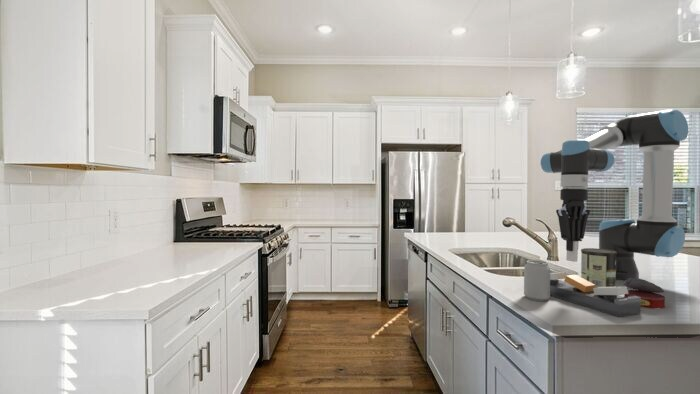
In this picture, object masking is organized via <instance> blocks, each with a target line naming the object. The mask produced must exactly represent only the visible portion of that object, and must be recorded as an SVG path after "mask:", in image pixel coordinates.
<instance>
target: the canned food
mask: <svg viewBox="0 0 700 394" xmlns="http://www.w3.org/2000/svg"><path fill="white" fill-rule="evenodd" d="M626 286H627V290H628V294H623V297H629V296H638V297H641V308H646V309H655V308H660V309H664V308H665V306H666V297H665V296H664V295H663V294H662V293H665V289H663V288H662V287H661V286H659V285H657V284H655V283H654V282H651V281H648V280H646V279H643V278H640V277H639V278H629V279H625V281H624V282H623V287H626Z"/></svg>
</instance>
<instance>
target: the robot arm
mask: <svg viewBox="0 0 700 394" xmlns="http://www.w3.org/2000/svg"><path fill="white" fill-rule="evenodd" d="M688 123H689V122H688V120H687V118H686V117H685V115H684V114H683V113H682V112H681V111H680V110H677V109H674V108H673V109H664V110H658V111H651V112H647V113H646V112H645V113H640V114H633V115H628V116H626V117H622V118H620V119H618V120H616V121H613V122H611V123H608V124H607V125H604V126H602V127H601V128H600V129H599V130H598V131H597V132H596V133H594V134H592V135H590V136H588V137H586V138H584V139H570V140H566V141H564V142H562V145H561V149H560V150H558V151H555V152H552V151H550V152H547V153H544V154H543V155H542V157H541V158H540V167H541V169H542V171H543V172H544V173H547V174H548V173H551V174H558V173H559V174H560V187H561V188H562V189H560V196H559V197H560V200H561V201H562V204H561V208H560V209H556V211H555V213H556V215H557V217H558V225H559V230H560V232H559V233H560V237H561V239H563V240H564V241H565V242H566V243H565V244H566V245H565V250H566V258H565V259H566V261H568V262H569V261H570V262H573V263H574V262H575V263H576V262H578V254H579V252H578V251H579V242H582V241H583V239H584V238H585V234H586V229H587V223H588V217H589V216H590V212H591V210H590V209H586V204H585V201H588V198H589V197H588V193H589V190H588V189H587V188H588V185H589V172H596V173H601V172H606V171H609V170H610V169H611V168H612V167H613V166H614V163H615V156H614V153H612V152H611V151H610V150H613V149H616V148H619V147H623V146H624V147H625V146H634V145H635V146H637V145H638V149H639V150H640V151H641V152H642V153H643V169H642V170H643V172H642V200H641V201H642V206H641V207H642V209H641V210H642V212H641V215H640V216H639V217H638V218H637V219H636V221H635V219H633V218H632V219H628V218H627V219H610V220H609V219H608V220H602V221H600V222H599V228H598V249H607V250H612V251H616V252H617V254H616V279H617V280H627V279H629V278H639V279H640V272H639V268H638V266H637V263H636V261H635V254H640V255H648V256H653V257H654V256H655V257H657V258H658V257H660V258H661V257H664V258H673V257H675V256H677V255H678V254H679V253H680V251H682V250H683V247H684V246H685V245H684V244H685V240H686V234H685V230H684V228H683V227H681V226H679V225H678V220H676V218H674V217H673V216H672V215H673V192H674V191H673V189H674V162H675V161H674V160H675V155H674V153H675V151H676V150H677V149H678V148H679V147H680V145H681V143H680V142H683V141H684V140H686V139H687V138H688V135H689V124H688Z"/></svg>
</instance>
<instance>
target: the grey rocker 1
mask: <svg viewBox="0 0 700 394" xmlns="http://www.w3.org/2000/svg"><path fill="white" fill-rule="evenodd" d="M567 275H568V274H567V272H566V271H565V272H564V271H563V272H550V280H555V279H557V280H565V277H566V276H567Z"/></svg>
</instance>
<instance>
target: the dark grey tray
mask: <svg viewBox="0 0 700 394" xmlns="http://www.w3.org/2000/svg"><path fill="white" fill-rule="evenodd" d="M550 297H554V298H557V299H560V300H563V301H566V302H570V303H573V304H575V305H578V306H582V307H585V308H588V309H592V310H595V311H598V312H602V313H604V314H608V315H611V316H614V317H618V318H624V317H629V316H635V315H639V314H641V308H642V307H641V297H638V296H629V297H624V296H622V295H594V291H589V292H583V291H581V290H580V289H578V288H576V287H574V286H572V285H570V284H569V283H567V282H565V281H564V280H562V279H555V280H550Z"/></svg>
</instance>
